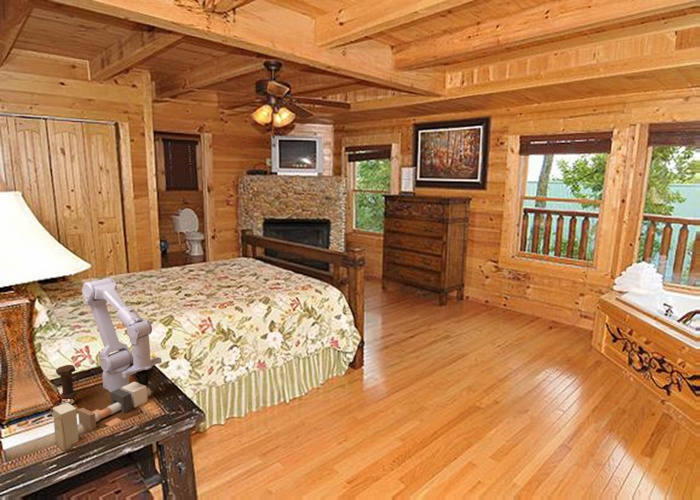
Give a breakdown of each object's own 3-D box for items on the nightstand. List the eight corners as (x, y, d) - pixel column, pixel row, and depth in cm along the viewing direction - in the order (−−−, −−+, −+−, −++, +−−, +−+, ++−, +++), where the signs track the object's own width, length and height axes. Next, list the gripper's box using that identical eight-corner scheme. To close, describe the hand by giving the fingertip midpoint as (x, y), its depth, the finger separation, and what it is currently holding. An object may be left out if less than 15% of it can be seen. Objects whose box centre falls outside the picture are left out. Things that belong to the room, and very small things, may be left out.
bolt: (68, 412, 144) (64, 372, 142) (56, 410, 145) (52, 370, 143) (82, 403, 150) (78, 365, 148) (70, 401, 151) (66, 363, 149)
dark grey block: (111, 407, 146) (110, 392, 145) (120, 403, 148) (118, 388, 147) (124, 413, 142) (122, 397, 141) (132, 409, 145) (130, 393, 144)
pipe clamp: (65, 425, 137) (63, 409, 136) (137, 391, 159) (136, 376, 158) (93, 440, 129) (92, 422, 128) (165, 402, 152) (164, 387, 151)
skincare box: (55, 444, 127) (51, 407, 125) (71, 436, 131) (67, 401, 129) (64, 451, 123) (59, 414, 121) (80, 444, 127) (76, 408, 125)
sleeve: (122, 402, 149) (121, 387, 148) (135, 396, 153) (134, 381, 152) (134, 407, 146) (133, 392, 145) (147, 401, 150) (146, 386, 149)
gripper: (129, 363, 142) (132, 399, 144) (165, 348, 154) (168, 382, 157) (117, 359, 145) (120, 394, 147) (153, 345, 158) (155, 378, 160)
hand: (144, 388), depth 152 cm, fingers closed
